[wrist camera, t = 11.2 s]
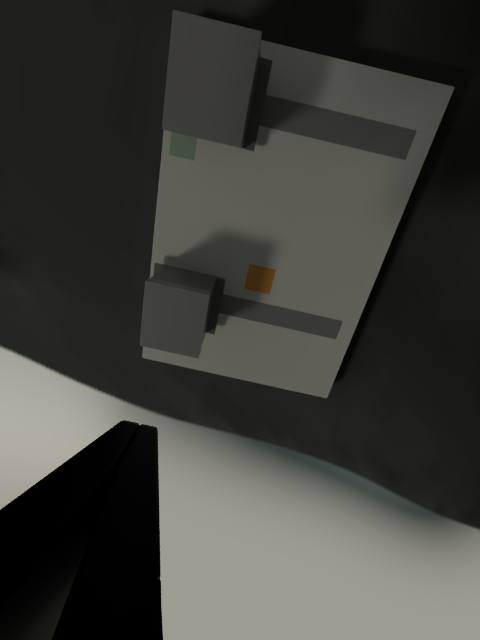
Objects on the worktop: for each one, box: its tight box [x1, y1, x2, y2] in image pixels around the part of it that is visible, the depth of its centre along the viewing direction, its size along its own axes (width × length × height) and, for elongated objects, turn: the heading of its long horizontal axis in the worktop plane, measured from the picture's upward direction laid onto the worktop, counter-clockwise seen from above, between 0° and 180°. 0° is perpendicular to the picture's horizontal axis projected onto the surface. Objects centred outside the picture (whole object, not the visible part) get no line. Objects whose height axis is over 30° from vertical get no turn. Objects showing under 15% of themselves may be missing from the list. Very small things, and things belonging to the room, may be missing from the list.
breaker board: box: [142, 40, 455, 398], centre depth 15 cm, size 10×14×1 cm
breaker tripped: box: [140, 263, 226, 358], centre depth 14 cm, size 3×3×2 cm
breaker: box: [162, 10, 273, 151], centre depth 11 cm, size 3×3×2 cm
